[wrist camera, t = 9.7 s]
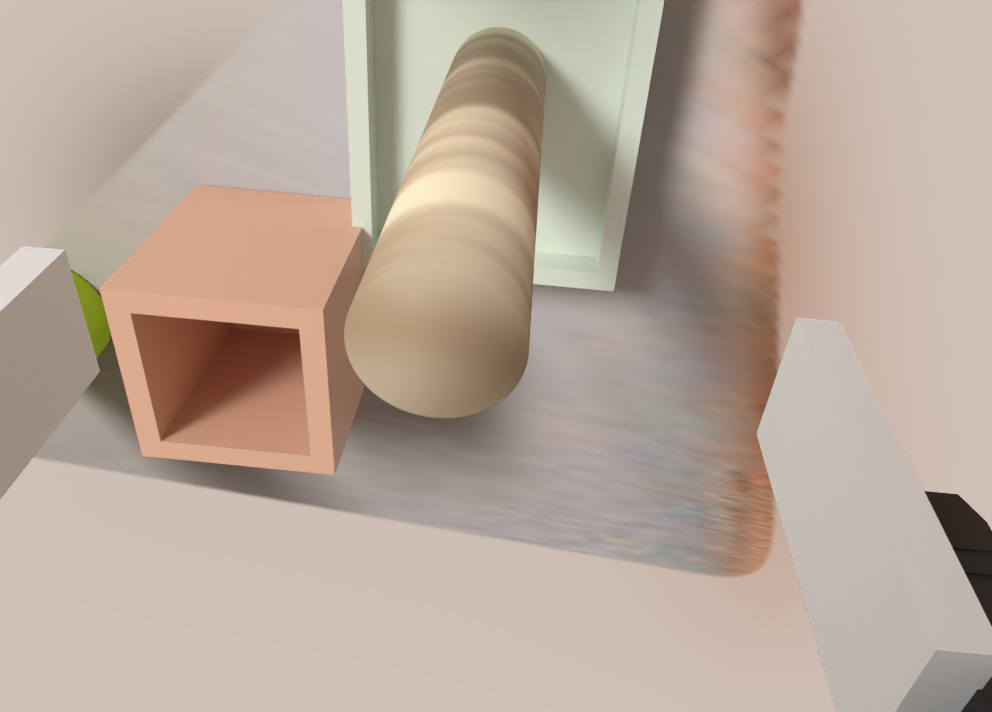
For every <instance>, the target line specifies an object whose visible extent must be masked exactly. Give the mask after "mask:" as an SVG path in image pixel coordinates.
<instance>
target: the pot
mask: <svg viewBox="0 0 992 712" xmlns="http://www.w3.org/2000/svg"><path fill="white" fill-rule="evenodd" d="M365 270H366V268H363V243H362V227H352V210H351V199H347V198H336V197H325V196H314V195H303V194H292V193H281V192H270V191H259V190H248V189H237V188H226V187H215V186H204V185H197V186H196V187H195V188H194V189H193V190H192V191H191V193H190V194H189V195H188V196H187V197H186V198H185V199H184V200H183V201H182V202H181V203H180V204H179V205H178V206H177V207H176V208H175V209H174V210H173V212H172V213H171V214H170V215H169V216H168V217H167V218H166V219H165V220H164V221H163V222H162V223H161V224H160V225H159V226H158V227H157V228H156V229H155V231H154V232H153V233H152V234H151V235H150V236H149V237H148V238H147V239H146V240H145V241H144V242H143V243H142V244H141V245H140V246H139V247H138V248H137V250H136V251H135V252H134V253H133V254H132V255H131V256H130V257H129V258H128V259H127V260H126V261H125V262H124V263H123V264H122V265H121V266H120V267H119V269H118V270H117V271H116V272H115V273H114V274H113V275H112V276H111V277H110V278H109V279H108V280H107V281H106V282H105V283H104V284H103V285H102V286H101V288H100V293H101V297H102V301H103V305H104V308H105V312H106V316H107V320H108V324H109V328H110V332H111V336H112V339H113V343H114V347H115V351H116V355H117V359H118V363H119V367H120V371H121V374H122V378H123V382H124V386H125V390H126V394H127V398H128V402H129V405H130V409H131V413H132V417H133V421H134V425H135V429H136V433H137V437H138V440H139V444H140V448H141V452H142V456H148V457H158V458H168V459H178V460H188V461H198V462H208V463H218V464H229V465H239V466H249V467H259V468H269V469H279V470H289V471H299V472H309V473H320V474H330V475H335V473H336V470H337V467H338V464H339V461H340V458H341V455H342V452H343V449H344V446H345V443H346V440H347V438H348V435H349V432H350V429H351V426H352V423H353V420H354V417H355V414H356V411H357V408H358V405H359V402H360V399H361V397H362V394H363V391H364V388H365V384H364V383H363V382H362V380H361V379H360V378H359V377H358V375H357V374H356V372H355V371H354V369H353V367H352V365H351V363H350V361H349V358H348V355H347V352H346V348H345V341H344V327H345V321H346V317H347V314H348V312H349V309H350V306H351V304H352V302H353V299H354V297H355V294H356V292H357V290H358V287H359V285H360V282H361V280H362V278H363V275H364V273H365Z"/></svg>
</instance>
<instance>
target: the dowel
mask: <svg viewBox="0 0 992 712" xmlns="http://www.w3.org/2000/svg"><path fill="white" fill-rule="evenodd" d="M545 88H546V68H545V64H544V61H543V58H542V55H541V54H540V52H539V50H538V48H537V47H536V46H535V44H534V43H533V42H532V41H531V40H530V39H529V38H527V37H526V36H525V35H523V34H522V33H520V32H518V31H516V30H513V29H510V28H504V27H491V28H486V29H482V30H480V31H478V32H476V33H474V34H472V35H471V36H470V37H468V38H467V39H466V40H465V41H464V42H463V43H462V44H461V46H460V47H459V49H458V50H457V52H456V54H455V56H454V59H453V61H452V64H451V66H450V68H449V71H448V73H447V76H446V78H445V80H444V83H443V85H442V88H441V90H440V92H439V95H438V97H437V100H436V102H435V105H434V107H433V109H432V112H431V114H430V117H429V119H428V121H427V124H426V126H425V129H424V131H423V133H422V136H421V138H420V141H419V143H418V145H417V148H416V150H415V153H414V155H413V157H412V160H411V162H410V165H409V167H408V169H407V172H406V174H405V177H404V179H403V181H402V184H401V186H400V189H399V191H398V193H397V196H396V198H395V201H394V203H393V205H392V208H391V210H390V213H389V215H388V217H387V220H386V222H385V225H384V227H383V229H382V232H381V234H380V237H379V239H378V242H377V244H376V246H375V249H374V251H373V254H372V256H371V258H370V261H369V263H368V266H367V268H366V270H365V273H364V275H363V278H362V280H361V282H360V285H359V287H358V290H357V292H356V294H355V297H354V299H353V302H352V304H351V306H350V309H349V312H348V314H347V317H346V321H345V327H344V341H345V348H346V352H347V355H348V358H349V361H350V363H351V365H352V367H353V369H354V371H355V372H356V374H357V375H358V377H359V378H360V379H361V380H362V382H363V383H364V384H365V385H366V386H367V387H368V388H369V389H370V390H371V391H372V392H373V393H374V394H376V395H377V396H378V397H380V398H381V399H382V400H384V401H386V402H387V403H389V404H391V405H393V406H395V407H397V408H399V409H401V410H404V411H406V412H409V413H412V414H416V415H420V416H425V417H432V418H458V417H464V416H469V415H473V414H476V413H479V412H482V411H484V410H486V409H489V408H490V407H492V406H494V405H496V404H497V403H499V402H500V401H501V400H503V399H504V398H505V397H506V396H508V395H509V394H510V393H511V392H512V391H513V389H514V388H515V387H516V385H517V384H518V383H519V381H520V379H521V377H522V375H523V373H524V371H525V368H526V365H527V360H528V354H529V338H530V322H531V307H532V291H533V275H534V260H535V244H536V229H537V213H538V197H539V182H540V166H541V150H542V135H543V119H544V103H545Z"/></svg>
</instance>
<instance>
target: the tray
mask: <svg viewBox="0 0 992 712" xmlns="http://www.w3.org/2000/svg"><path fill="white" fill-rule="evenodd" d="M342 2H343V25H344V48H345V71H346V94H347V118H348V141H349V164H350V187H351V210H352V227H362V243H363V268H367V266H368V263H369V261H370V258H371V256H372V254H373V251H374V249H375V246H376V244H377V242H378V239H379V237H380V234H381V232H382V229H383V227H384V225H385V222H386V220H387V217H388V215H389V213H390V210H391V208H392V205H393V203H394V201H395V198H396V196H397V193H398V191H399V189H400V186H401V184H402V181H403V179H404V177H405V174H406V172H407V169H408V167H409V165H410V162H411V160H412V157H413V155H414V153H415V150H416V148H417V145H418V143H419V141H420V138H421V136H422V133H423V131H424V129H425V126H426V124H427V121H428V119H429V117H430V114H431V112H432V109H433V107H434V105H435V102H436V100H437V97H438V95H439V92H440V90H441V88H442V85H443V83H444V80H445V78H446V76H447V73H448V71H449V68H450V66H451V64H452V61H453V59H454V56H455V54H456V52H457V50H458V49H459V47H460V46H461V44H462V43H463V42H464V41H465V40H466V39H467V38H468V37H470V36H471V35H472V34H474V33H476V32H478V31H480V30H482V29H486V28H491V27H504V28H510V29H513V30H516V31H518V32H520V33H522V34H523V35H525V36H526V37H527V38H529V39H530V40H531V41H532V42H533V43H534V44H535V46H536V47H537V48H538V50H539V52H540V54H541V55H542V58H543V61H544V64H545V68H546V88H545V103H544V119H543V135H542V150H541V166H540V182H539V197H538V213H537V229H536V244H535V260H534V275H533V284H539V285H550V286H560V287H571V288H582V289H593V290H603V291H614V287H615V282H616V276H617V270H618V264H619V259H620V253H621V247H622V241H623V236H624V230H625V224H626V218H627V213H628V207H629V201H630V195H631V190H632V184H633V178H634V172H635V167H636V161H637V155H638V149H639V144H640V138H641V132H642V126H643V121H644V115H645V109H646V103H647V98H648V92H649V86H650V80H651V75H652V69H653V63H654V57H655V52H656V46H657V40H658V35H659V29H660V23H661V17H662V12H663V6H664V0H342Z"/></svg>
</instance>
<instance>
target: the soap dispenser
mask: <svg viewBox="0 0 992 712" xmlns="http://www.w3.org/2000/svg"><path fill="white" fill-rule="evenodd" d="M71 273H72V276H73V280H74V283H75V286H76V290H77V293H78V297H79V300H80V304H81V307H82V311H83V314H84V317H85V321H86V324H87V328H88V331H89V335H90V338H91V341H92V345H93V348H94V352H95V355H96V358H97V357H98V356H99V355H100V353H101V352H102V351H103V350H104V349H105V347H106V346H107V344H108V343H109V340H110V338H111V332H110V328H109V324H108V320H107V316H106V312H105V308H104V305H103V301H102V298H101V297H100V295H99V294H98V293H97V292H96V290H95V289H94V288H93V287H92V286H91V285H90V284H89V283H88V282H86V281H85V280H84V279H83V278H81V277H80V276H79V275H77V274H76V273H74V272H72V271H71Z"/></svg>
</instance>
